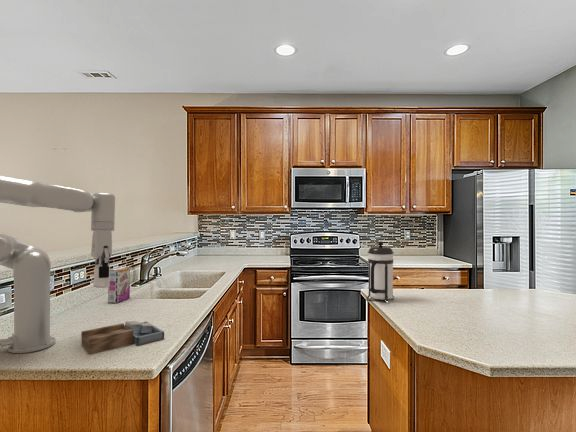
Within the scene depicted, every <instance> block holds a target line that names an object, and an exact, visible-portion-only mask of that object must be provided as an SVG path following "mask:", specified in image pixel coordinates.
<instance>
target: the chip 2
mask: <svg viewBox="0 0 576 432" xmlns="http://www.w3.org/2000/svg"><path fill="white" fill-rule="evenodd" d="M140 323H141V324H142V327H141V331H139V332H140V333H152V332H153V324H152V323H150V322H148V323H142V322H140Z"/></svg>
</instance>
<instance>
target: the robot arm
mask: <svg viewBox="0 0 576 432" xmlns="http://www.w3.org/2000/svg"><path fill="white" fill-rule="evenodd" d="M0 203H3V204H9V205H14V206H21V207H29V208H30V207H31V208H51V209H56V210H57V209H58V210H64V211H70V212H74V213H88V212H90V213H91V215H90V216H91V217H90V220H91V221H90V231H91V232H92V237H91V239H92V240H91V249H90V250H91V252H90V255H91V257H92V258H93V259H94V267H95V266H96V265H98V264H100V267H99V278H108V277H109V266H110V258H112V254H113V236H112V234H113V233H112V232H114V231H115V219H116V215H115V214H116V196H115V194H113V193H110V192H94V193H90V192H88V191H86V190H84V189H77V188H73V187H65V186H63V185H62V186H61V185H56V184H49V183H44V182H39V181H35V180H29V179H22V178H19V177H12V176H7V175H1V174H0ZM101 257H104V258H101ZM99 258H100V263H99ZM102 260H103V261H102ZM0 266H3V267H6V268H7V269H10V270H12V271H13V272H12V273H13V303H14V304H13V333H12V334H11V336H8V337H7V338H1V339H0V348H3V347H7V351H8V352H9V353H11V354H26V353H27V354H29V353H33V352H38V351H42V350H45V349H47V348H50V347H51V346H53V345H55V344H56V341H57V340H56V338H55V337H54V336H51V273H52V272H51V271H52V270H51V268H52V267H51V259H50V257H49V255H48V254H47V253H46V252H45V251H44V250H43V249H41V248H38V247H36V246H34V245H31V244H29V243H27V242H24V241H22V240H19V239H18V238H14V237H13V236H10V235H7V234H5V233H0Z"/></svg>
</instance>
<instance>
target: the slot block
mask: <svg viewBox="0 0 576 432" xmlns="http://www.w3.org/2000/svg"><path fill="white" fill-rule="evenodd" d="M124 326H125V323H122V322H121V323H118V324H117V323H116V324H112V325H111V324H110V325H108V326H102V327H96V328H93V329H88V330H83V331H82V330H81V331H80V332H81V335H80V336H81V338H80V339H81V341H80V343H81V346H82V348H83V349H84V350H85V351H86V352H87V353H88V355H93V354H97V353H100V352H101V353H102V352H105V351H109V350H112V349H113V350H114V349H118V348H121V347H125V346H129V345H133V344H134V343H133V330H132V329H130V330H125V329H124Z"/></svg>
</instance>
